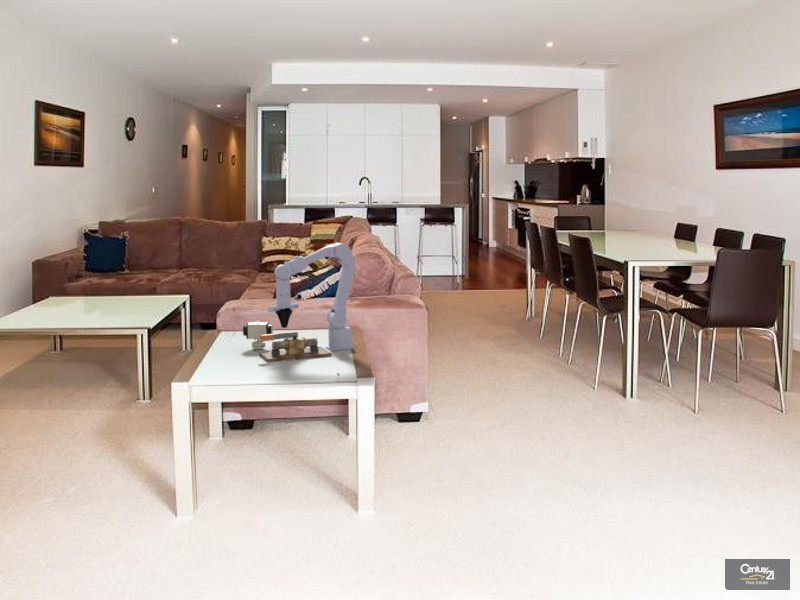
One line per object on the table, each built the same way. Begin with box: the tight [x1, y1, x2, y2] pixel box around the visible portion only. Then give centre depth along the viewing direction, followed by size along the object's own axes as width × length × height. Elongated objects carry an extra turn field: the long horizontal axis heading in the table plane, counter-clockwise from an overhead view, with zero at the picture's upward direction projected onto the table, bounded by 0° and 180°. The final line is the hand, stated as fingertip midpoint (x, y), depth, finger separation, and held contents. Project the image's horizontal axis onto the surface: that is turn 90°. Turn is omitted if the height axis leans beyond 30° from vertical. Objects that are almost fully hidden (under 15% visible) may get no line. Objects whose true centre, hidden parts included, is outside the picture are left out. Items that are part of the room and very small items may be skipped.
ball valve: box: [258, 336, 333, 363], centre depth 322 cm, size 26×14×7 cm, turn 113°
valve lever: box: [260, 331, 299, 342], centre depth 318 cm, size 15×3×2 cm, turn 117°
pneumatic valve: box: [242, 320, 274, 350], centre depth 335 cm, size 6×12×12 cm, turn 90°
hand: (284, 327), depth 327 cm, fingers closed
